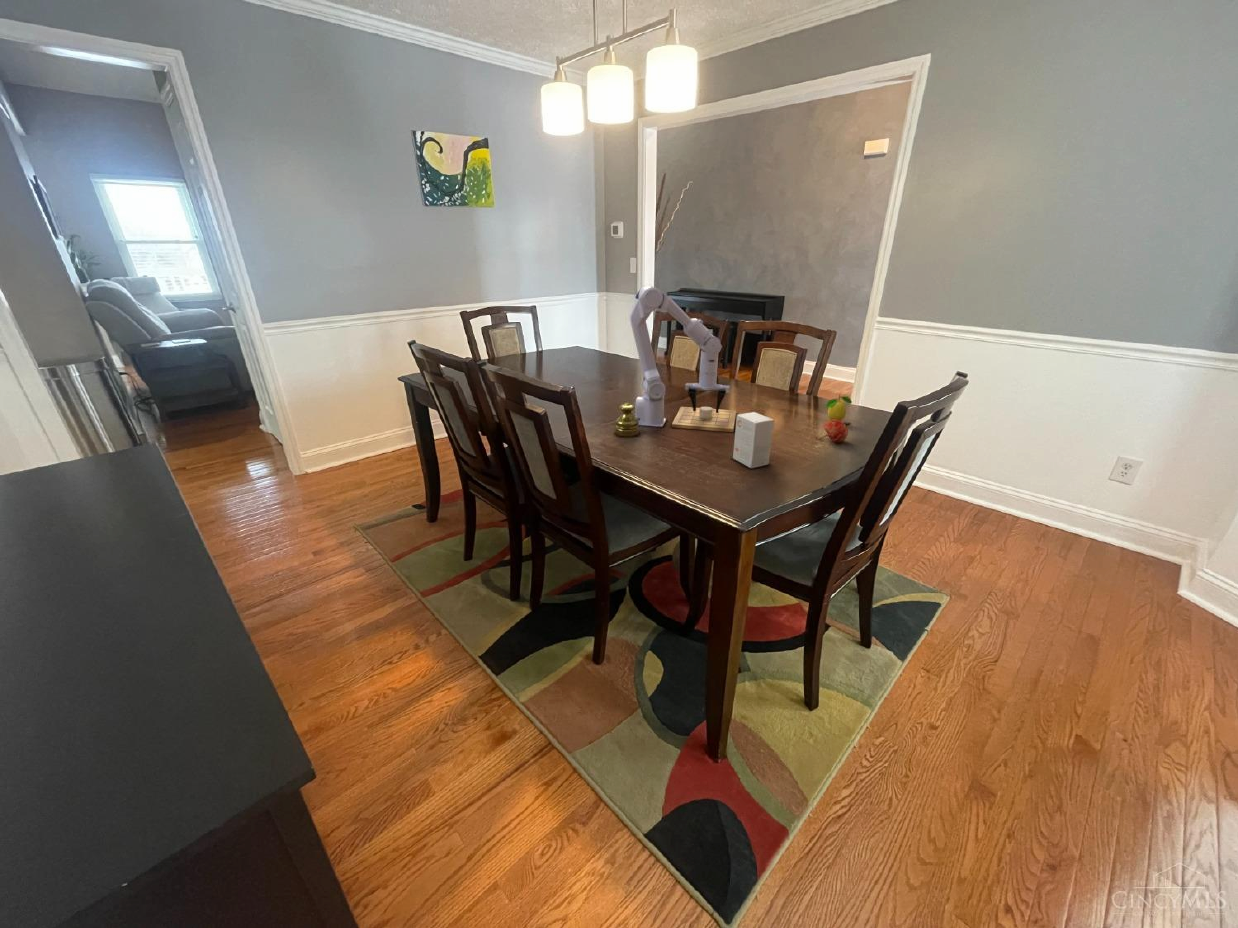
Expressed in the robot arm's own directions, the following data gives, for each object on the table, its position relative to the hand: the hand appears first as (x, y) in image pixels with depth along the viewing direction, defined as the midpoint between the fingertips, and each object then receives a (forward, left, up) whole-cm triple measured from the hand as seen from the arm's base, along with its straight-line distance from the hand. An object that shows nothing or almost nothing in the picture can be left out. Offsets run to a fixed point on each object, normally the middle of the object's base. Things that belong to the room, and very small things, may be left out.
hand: (705, 411), depth 168 cm
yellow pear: (+43, +8, -3) cm, 44 cm away
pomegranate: (+40, -11, -3) cm, 42 cm away
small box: (+16, -33, -3) cm, 37 cm away
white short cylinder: (0, 0, -2) cm, 2 cm away
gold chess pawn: (-23, -19, -3) cm, 30 cm away
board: (0, 0, -3) cm, 3 cm away
